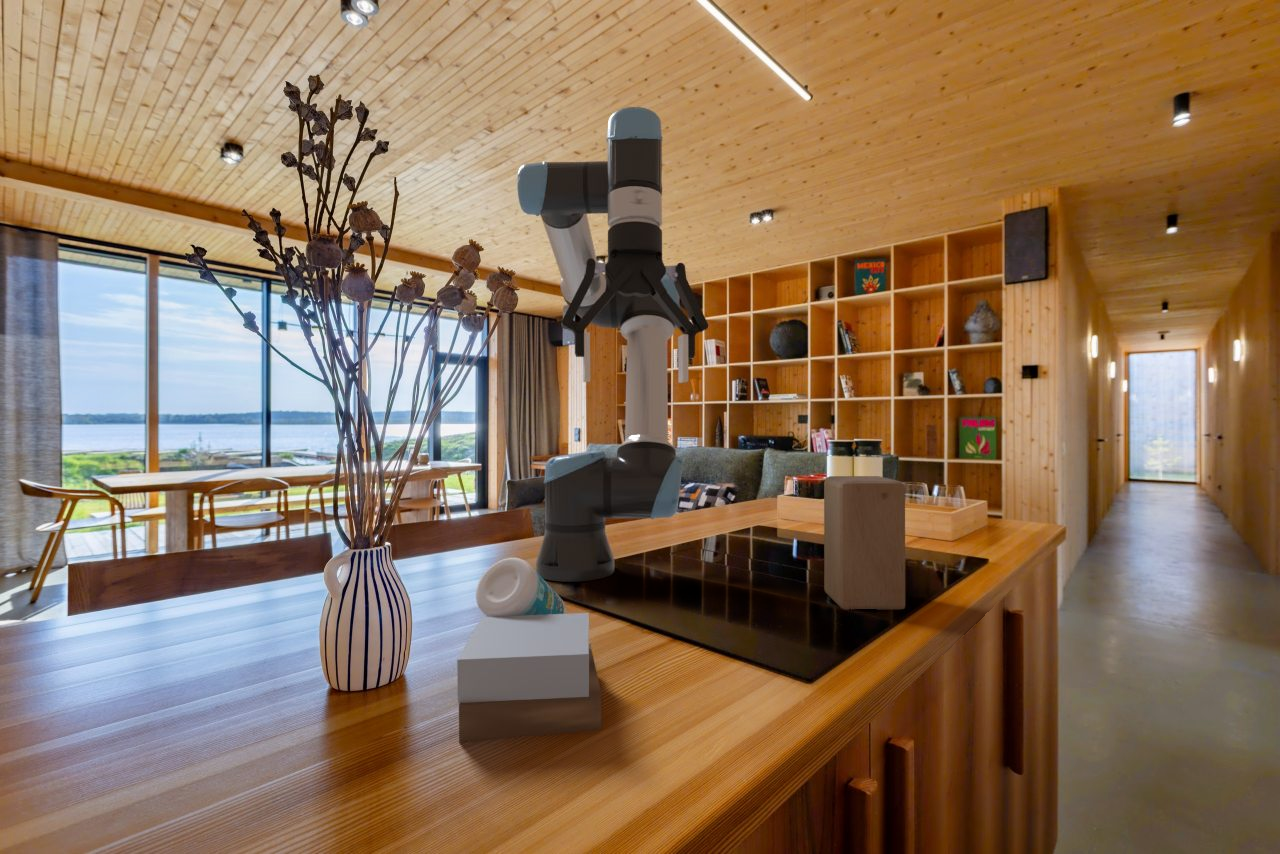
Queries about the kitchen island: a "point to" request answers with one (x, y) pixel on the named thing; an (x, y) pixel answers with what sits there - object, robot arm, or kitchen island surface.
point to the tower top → (525, 658)
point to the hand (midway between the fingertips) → (635, 382)
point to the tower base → (532, 715)
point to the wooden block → (864, 542)
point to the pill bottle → (516, 591)
